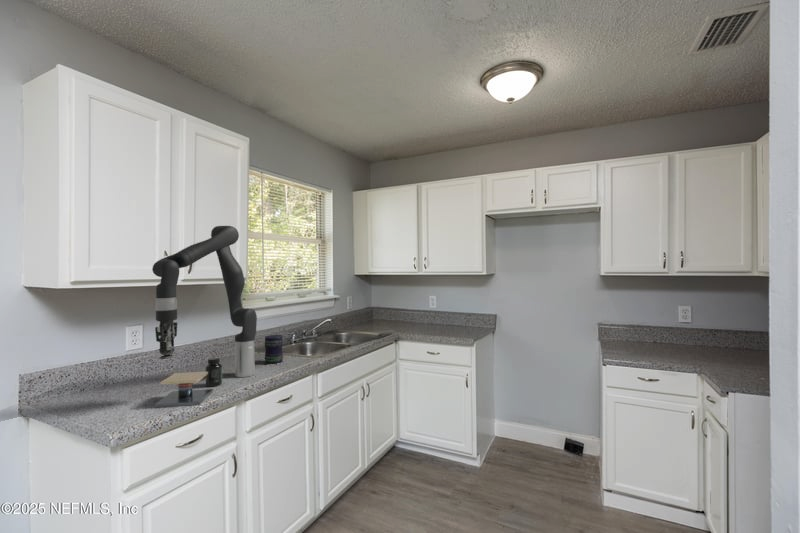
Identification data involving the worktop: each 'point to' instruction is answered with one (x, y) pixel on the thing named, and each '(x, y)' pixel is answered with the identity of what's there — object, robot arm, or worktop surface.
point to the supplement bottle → (213, 372)
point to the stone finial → (168, 349)
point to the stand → (184, 390)
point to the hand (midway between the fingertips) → (167, 349)
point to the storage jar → (273, 349)
